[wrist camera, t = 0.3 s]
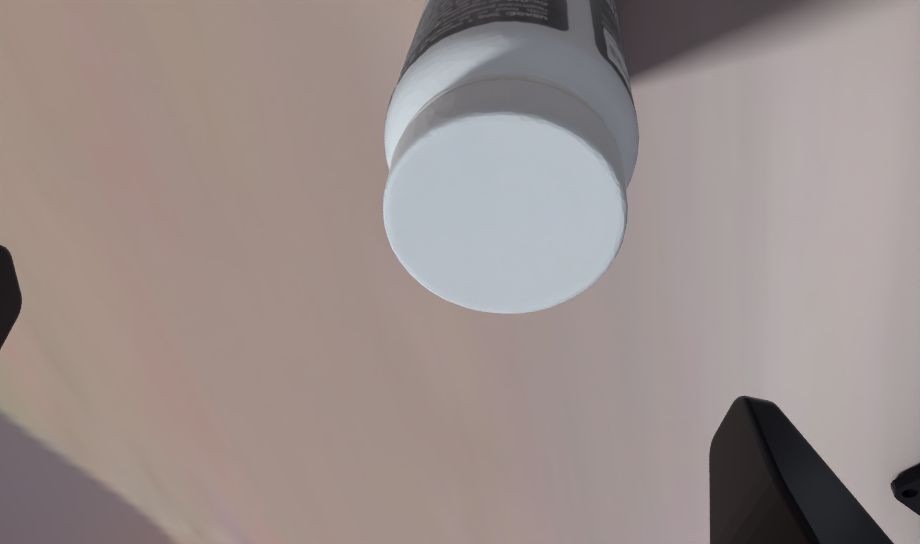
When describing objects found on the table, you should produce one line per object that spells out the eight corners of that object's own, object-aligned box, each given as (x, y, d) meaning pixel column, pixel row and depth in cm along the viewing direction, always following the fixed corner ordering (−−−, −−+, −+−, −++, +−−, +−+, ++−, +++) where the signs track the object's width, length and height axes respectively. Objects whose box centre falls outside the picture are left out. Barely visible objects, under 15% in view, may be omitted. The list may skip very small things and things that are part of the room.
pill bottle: (396, 67, 20) (316, 266, 13) (477, -112, 17) (425, 31, 11) (556, 145, 21) (556, 368, 14) (658, -12, 18) (715, 175, 11)
